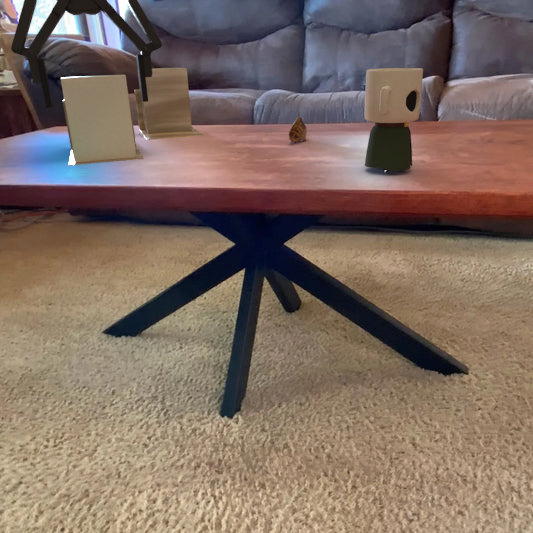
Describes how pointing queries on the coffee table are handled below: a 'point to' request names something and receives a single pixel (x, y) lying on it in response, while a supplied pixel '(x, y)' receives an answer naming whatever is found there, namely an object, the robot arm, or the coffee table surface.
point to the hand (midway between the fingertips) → (98, 104)
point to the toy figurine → (391, 115)
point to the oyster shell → (298, 131)
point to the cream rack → (165, 105)
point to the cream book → (99, 117)
